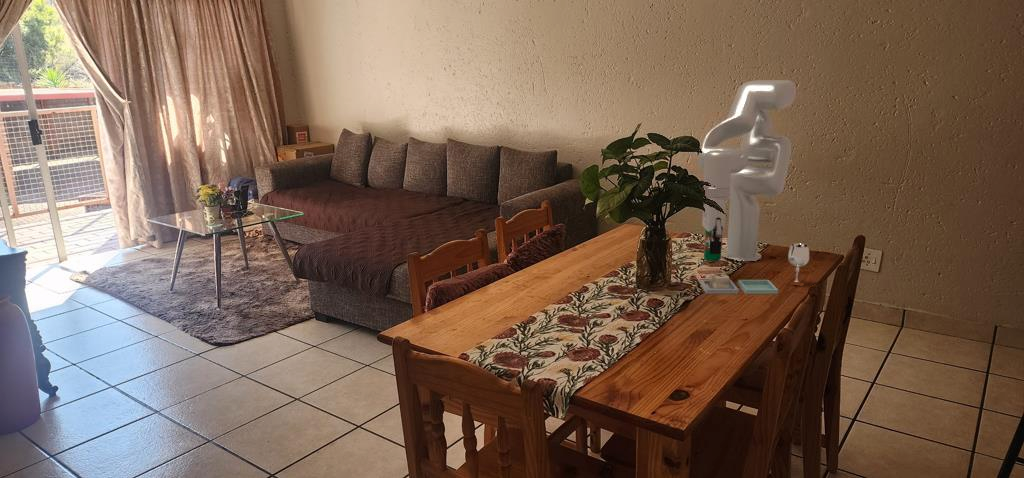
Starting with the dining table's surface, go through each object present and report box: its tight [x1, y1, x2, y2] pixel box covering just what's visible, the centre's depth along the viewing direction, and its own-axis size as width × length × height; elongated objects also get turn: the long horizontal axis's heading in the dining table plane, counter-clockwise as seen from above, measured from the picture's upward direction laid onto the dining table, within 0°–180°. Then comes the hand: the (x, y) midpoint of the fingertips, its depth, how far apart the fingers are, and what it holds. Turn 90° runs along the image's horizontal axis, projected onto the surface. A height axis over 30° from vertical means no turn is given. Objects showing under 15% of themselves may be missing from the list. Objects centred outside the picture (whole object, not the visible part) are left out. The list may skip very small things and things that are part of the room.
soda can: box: [703, 226, 724, 263], centre depth 200 cm, size 5×5×12 cm
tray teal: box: [737, 279, 779, 295], centre depth 192 cm, size 9×9×2 cm
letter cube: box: [709, 273, 730, 289], centre depth 193 cm, size 4×4×4 cm
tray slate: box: [699, 279, 739, 295], centre depth 193 cm, size 9×9×2 cm
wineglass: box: [787, 242, 810, 282], centre depth 196 cm, size 6×6×12 cm
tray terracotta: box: [693, 269, 731, 284], centre depth 203 cm, size 9×9×2 cm
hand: (712, 250), depth 201 cm, fingers closed on soda can, 5 cm apart
